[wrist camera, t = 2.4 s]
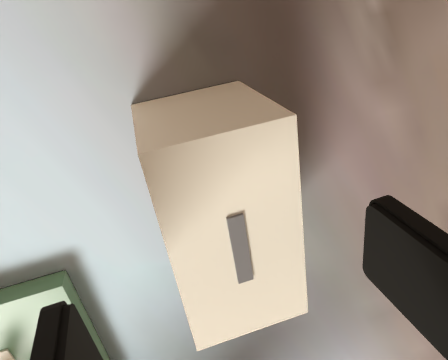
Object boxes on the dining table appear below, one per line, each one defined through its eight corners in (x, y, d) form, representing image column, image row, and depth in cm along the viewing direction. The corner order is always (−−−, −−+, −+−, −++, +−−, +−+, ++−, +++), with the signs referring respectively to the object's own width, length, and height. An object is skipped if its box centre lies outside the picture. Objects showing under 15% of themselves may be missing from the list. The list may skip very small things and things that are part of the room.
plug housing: (238, 80, 16) (298, 115, 11) (259, 235, 20) (309, 314, 15) (130, 104, 15) (138, 155, 10) (176, 260, 19) (197, 353, 14)
